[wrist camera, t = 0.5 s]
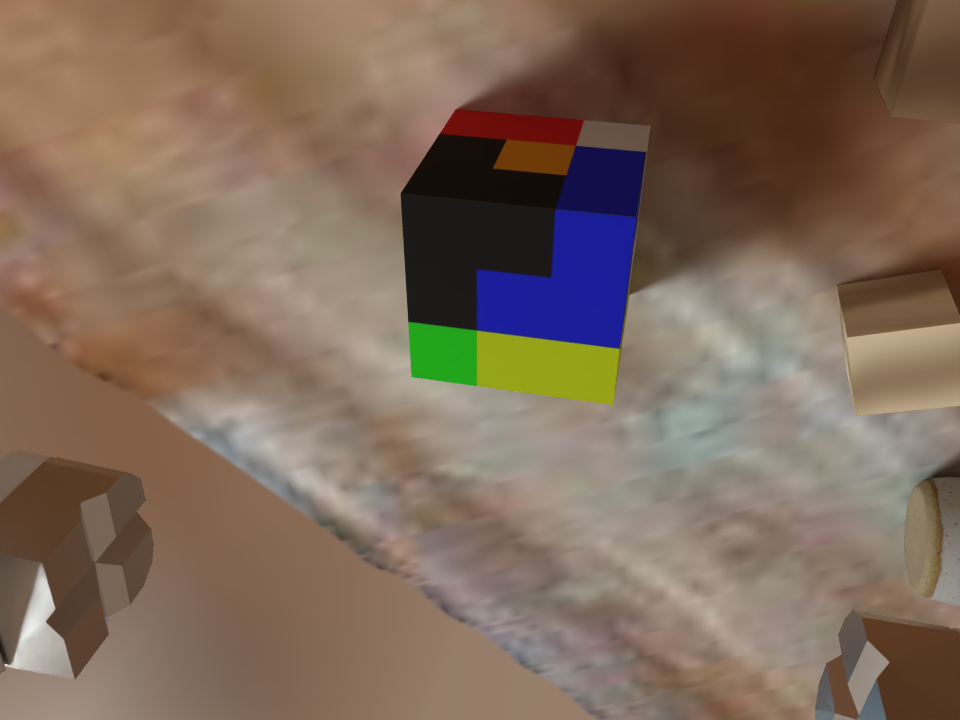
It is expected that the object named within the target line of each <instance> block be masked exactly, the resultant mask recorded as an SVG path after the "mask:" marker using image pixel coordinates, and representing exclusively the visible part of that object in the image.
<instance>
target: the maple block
mask: <svg viewBox="0 0 960 720" xmlns="http://www.w3.org/2000/svg"><path fill="white" fill-rule="evenodd" d="M836 287H837V295H838V304H839V313H840V322H841V331H842V339H843V348H844V357H845V363H846V369H847V374H848V379H849V384H850V389H851V394H852V399H853V404H854V409H855V414H856V416H861V415H871V414H881V413H891V412H901V411H912V410H922V409H932V408H942V407H952V406H960V315H959V312H958V310H957V308H956V305H955V303H954V300H953V298H952V295H951V293H950V290H949V288H948V285H947V283H946V280H945V278H944V275H943V273H942V270H934V271H927V272H921V273H914V274H908V275H901V276H894V277H888V278H881V279H874V280H868V281H861V282H854V283H848V284H841V285H836Z"/></svg>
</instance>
